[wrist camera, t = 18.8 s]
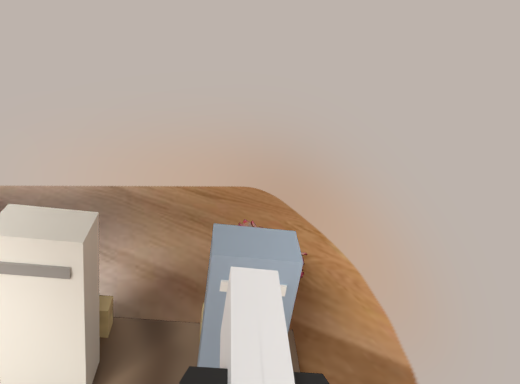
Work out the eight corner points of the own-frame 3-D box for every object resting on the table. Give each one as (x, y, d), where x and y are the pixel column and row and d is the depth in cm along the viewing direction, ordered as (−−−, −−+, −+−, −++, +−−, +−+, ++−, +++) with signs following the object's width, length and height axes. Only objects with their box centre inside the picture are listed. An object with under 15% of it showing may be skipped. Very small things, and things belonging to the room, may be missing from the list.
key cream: (1, 399, 34) (-21, 235, 28) (23, 356, 38) (8, 203, 32) (85, 403, 35) (81, 244, 29) (99, 360, 39) (99, 212, 33)
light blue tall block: (193, 409, 36) (211, 256, 30) (197, 366, 40) (213, 223, 34) (271, 413, 37) (303, 264, 31) (267, 371, 40) (295, 231, 34)
